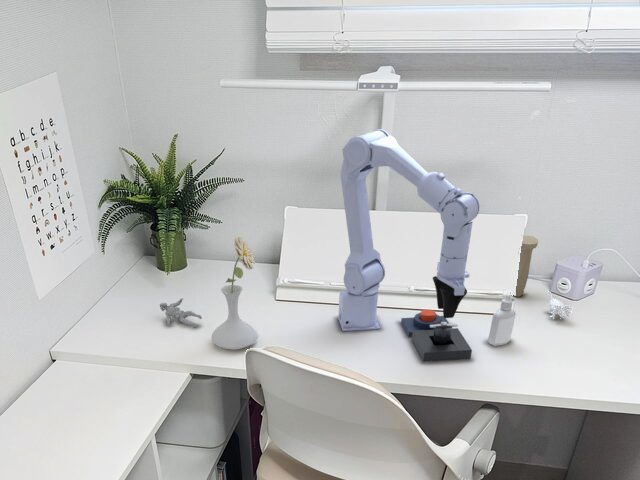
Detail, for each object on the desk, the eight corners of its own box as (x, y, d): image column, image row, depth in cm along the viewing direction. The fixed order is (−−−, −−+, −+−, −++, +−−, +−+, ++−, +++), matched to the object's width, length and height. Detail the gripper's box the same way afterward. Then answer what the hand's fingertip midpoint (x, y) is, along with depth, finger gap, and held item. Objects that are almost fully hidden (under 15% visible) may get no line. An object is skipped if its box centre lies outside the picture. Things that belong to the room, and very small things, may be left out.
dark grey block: (429, 354, 159) (432, 327, 155) (424, 346, 162) (428, 319, 158) (455, 352, 160) (460, 325, 155) (450, 344, 163) (455, 318, 159)
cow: (571, 324, 170) (576, 307, 167) (549, 325, 170) (554, 307, 167) (556, 304, 179) (561, 287, 176) (536, 304, 180) (540, 287, 177)
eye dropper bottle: (512, 346, 162) (523, 298, 154) (489, 346, 162) (498, 299, 154) (508, 337, 165) (518, 290, 158) (485, 338, 165) (493, 291, 158)
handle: (525, 290, 187) (536, 236, 177) (526, 300, 182) (538, 244, 172) (506, 289, 187) (517, 235, 178) (507, 299, 183) (518, 243, 173)
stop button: (422, 322, 166) (422, 316, 165) (418, 316, 169) (419, 309, 168) (436, 321, 167) (437, 315, 166) (432, 315, 169) (433, 309, 168)
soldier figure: (188, 336, 171) (149, 314, 173) (193, 340, 176) (155, 319, 178) (203, 309, 171) (164, 287, 173) (208, 314, 176) (169, 293, 177)
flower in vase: (240, 358, 159) (234, 253, 144) (202, 346, 164) (192, 244, 149) (271, 336, 168) (268, 235, 152) (233, 326, 173) (227, 226, 157)
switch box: (408, 337, 166) (409, 326, 164) (400, 323, 172) (402, 312, 171) (452, 335, 167) (454, 323, 165) (443, 320, 173) (444, 309, 171)
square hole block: (422, 362, 156) (424, 352, 155) (411, 340, 165) (412, 330, 164) (470, 359, 157) (472, 349, 156) (456, 337, 166) (457, 328, 164)
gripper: (482, 265, 141) (472, 325, 150) (462, 241, 153) (453, 298, 161) (449, 267, 141) (441, 327, 149) (431, 243, 152) (424, 300, 161)
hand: (445, 312), depth 155 cm, fingers open, 4 cm apart
